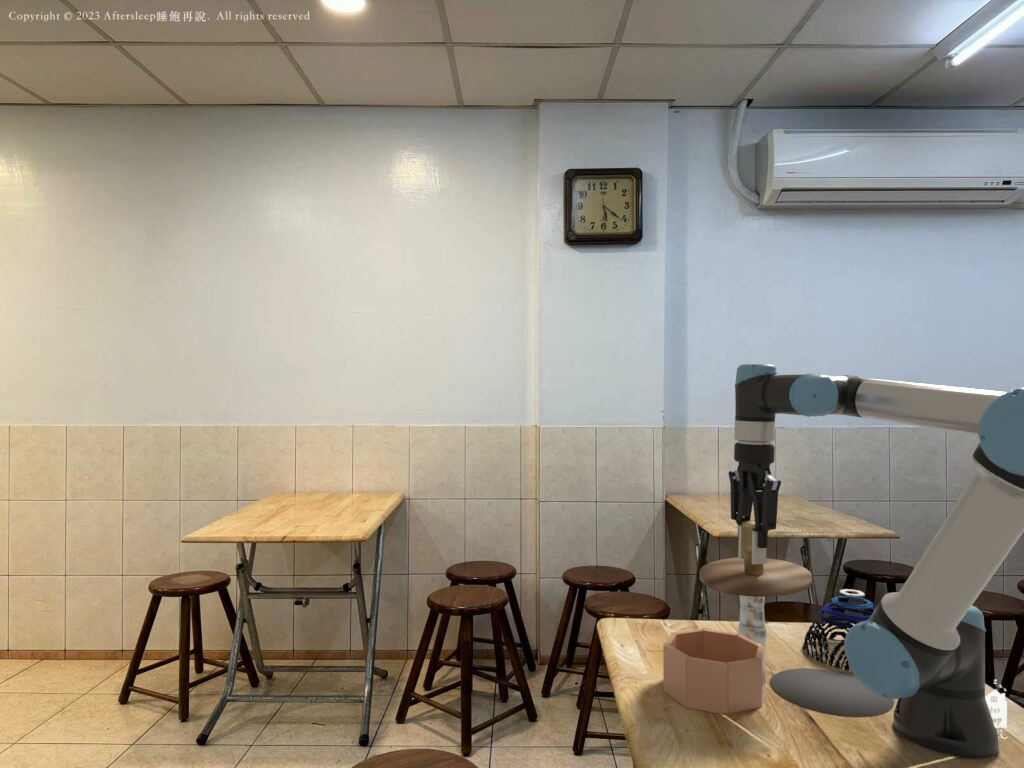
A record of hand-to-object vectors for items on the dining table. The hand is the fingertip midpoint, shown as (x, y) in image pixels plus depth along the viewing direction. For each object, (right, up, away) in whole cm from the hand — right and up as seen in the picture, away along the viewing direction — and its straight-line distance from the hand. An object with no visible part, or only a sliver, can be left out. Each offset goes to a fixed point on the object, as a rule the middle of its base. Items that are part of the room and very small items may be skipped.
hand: (751, 560), depth 135 cm
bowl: (-8, -25, -1) cm, 26 cm away
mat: (+15, -25, -2) cm, 29 cm away
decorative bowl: (+28, -26, +17) cm, 42 cm away
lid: (+1, -3, 0) cm, 4 cm away
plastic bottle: (+8, -26, +24) cm, 36 cm away
